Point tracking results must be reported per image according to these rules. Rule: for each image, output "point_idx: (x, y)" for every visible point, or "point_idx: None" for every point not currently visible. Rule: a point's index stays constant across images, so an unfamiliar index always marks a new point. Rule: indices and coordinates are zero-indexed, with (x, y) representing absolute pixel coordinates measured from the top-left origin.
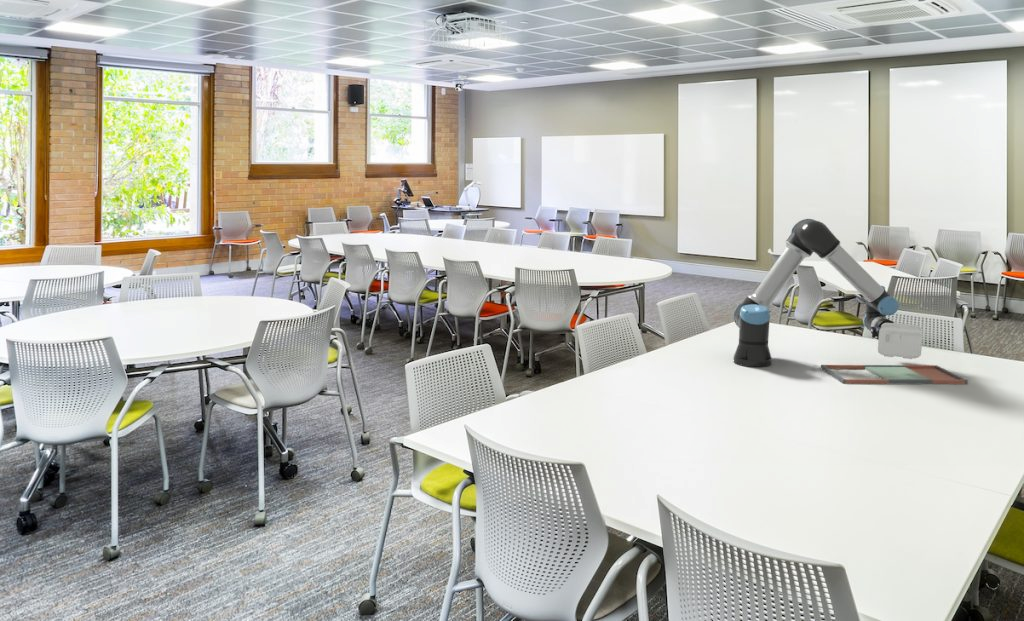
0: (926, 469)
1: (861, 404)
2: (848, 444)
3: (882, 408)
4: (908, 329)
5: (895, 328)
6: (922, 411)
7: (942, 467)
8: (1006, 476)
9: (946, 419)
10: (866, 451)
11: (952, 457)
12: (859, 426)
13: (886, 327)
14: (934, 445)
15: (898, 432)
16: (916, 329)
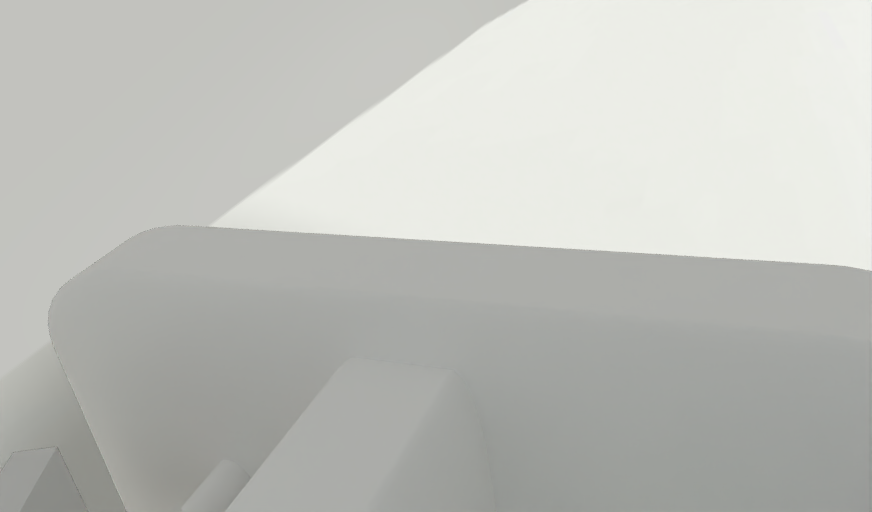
0: (649, 4)
1: (851, 196)
2: (827, 16)
3: (742, 183)
4: (307, 235)
5: (578, 250)
6: (563, 196)
7: (614, 13)
8: (502, 22)
9: (495, 163)
10: (777, 10)
11: (578, 35)
12: (817, 72)
13: (823, 264)
14: (603, 55)
15: (690, 74)
16: (136, 254)
